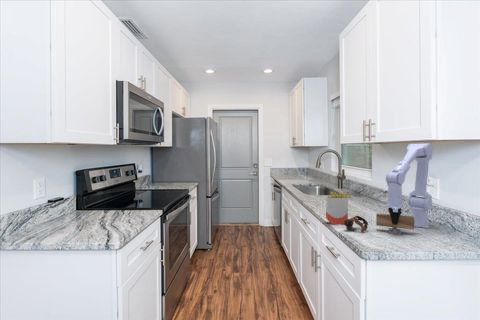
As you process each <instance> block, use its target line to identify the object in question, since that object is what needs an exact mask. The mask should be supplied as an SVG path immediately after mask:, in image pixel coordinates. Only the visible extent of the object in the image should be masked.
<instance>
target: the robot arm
mask: <svg viewBox="0 0 480 320" xmlns="http://www.w3.org/2000/svg"><path fill="white" fill-rule="evenodd" d="M432 157H433V147H432V144H431V143H428V142H426V143H409V144H408V145H407V147H406V154H405V155H404V157H403V159H402V161H399V162H398V163H396V165H395V166H394V168H393V169H392V171H390V172H388V173H387V174H386V176H385V182H386V186H387V187H388V189H387V191H388V197H387V199H388V200H387V201H388V202H387V203H386V204H385V206H386V207H388V208H387V209H388V213H389V214H390V215H391V220H392V224H393V225H398V221H399V217H400V215H401V214H403V213H402V212H403V211H402V208H403V203H402V198H403V195H402V193H403V187H402V186H403V184H404V183H405V180H406V174H407V173H408V172H409V171H410V168H411V166H410V165H411V163H413V162H414V160H415V161H416V170H415V171H416V174H415V182H414V190H413V191H411V192H409V195H408V198H407V205H408V206H409V207H410V209H411V216H413V217H414V228H424V229H425V228H426V229H430V227H431V226H430V225H429V224H428V223H429V220H428V219H429V211H430V210H431V208H432V207H433V196H432V195H431V194H430V193H429V192H427V184H428V174H429V163H430V161H431V160H432Z"/></svg>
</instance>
